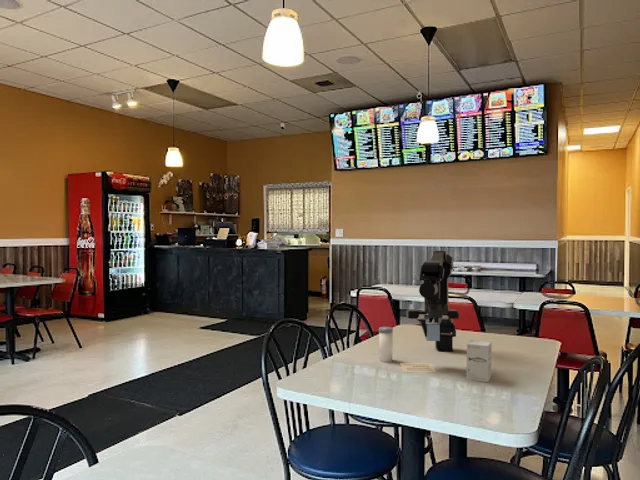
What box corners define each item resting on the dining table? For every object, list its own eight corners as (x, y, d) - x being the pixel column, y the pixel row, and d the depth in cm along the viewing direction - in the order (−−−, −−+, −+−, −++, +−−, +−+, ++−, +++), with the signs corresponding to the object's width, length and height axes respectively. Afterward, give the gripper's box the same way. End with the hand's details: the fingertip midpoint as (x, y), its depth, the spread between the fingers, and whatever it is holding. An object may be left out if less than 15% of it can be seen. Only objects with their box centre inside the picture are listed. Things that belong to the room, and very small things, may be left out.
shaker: (394, 360, 194) (394, 327, 194) (389, 363, 189) (390, 330, 189) (381, 358, 197) (381, 326, 196) (376, 361, 192) (376, 328, 192)
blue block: (437, 338, 186) (437, 322, 186) (439, 340, 181) (439, 324, 181) (425, 338, 186) (425, 322, 186) (427, 340, 181) (427, 324, 181)
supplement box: (466, 380, 167) (465, 343, 167) (470, 374, 174) (470, 339, 174) (488, 383, 164) (488, 345, 164) (491, 377, 170) (491, 341, 170)
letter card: (430, 363, 188) (430, 363, 188) (437, 372, 176) (437, 371, 176) (399, 363, 189) (399, 363, 189) (403, 372, 177) (403, 371, 177)
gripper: (410, 297, 176) (410, 341, 176) (462, 297, 175) (462, 341, 175) (406, 294, 187) (406, 335, 187) (455, 294, 187) (455, 335, 186)
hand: (432, 336), depth 184 cm, fingers closed on blue block, 4 cm apart
